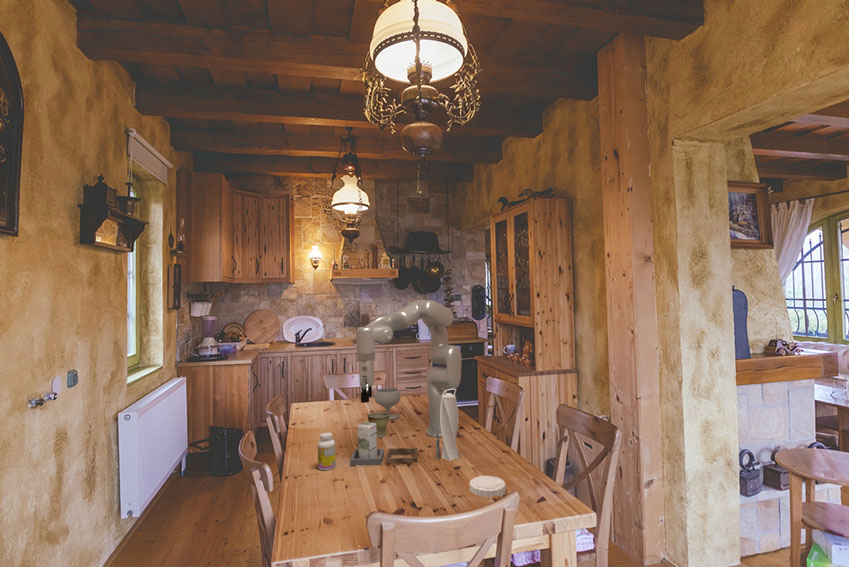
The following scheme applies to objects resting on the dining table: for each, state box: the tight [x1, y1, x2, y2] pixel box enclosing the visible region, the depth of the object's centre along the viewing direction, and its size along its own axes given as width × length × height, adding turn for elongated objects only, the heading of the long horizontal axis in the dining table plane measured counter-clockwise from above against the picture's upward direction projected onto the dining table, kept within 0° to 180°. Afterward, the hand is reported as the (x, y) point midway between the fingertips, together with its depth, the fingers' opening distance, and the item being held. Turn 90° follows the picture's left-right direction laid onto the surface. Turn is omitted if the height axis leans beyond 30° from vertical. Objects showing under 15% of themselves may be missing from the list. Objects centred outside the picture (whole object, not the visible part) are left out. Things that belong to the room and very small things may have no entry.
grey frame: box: [349, 448, 385, 467], centre depth 178 cm, size 12×12×2 cm
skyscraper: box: [435, 388, 460, 461], centre depth 177 cm, size 8×8×28 cm
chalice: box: [374, 387, 401, 421], centre depth 242 cm, size 14×14×15 cm
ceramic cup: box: [367, 411, 390, 439], centre depth 211 cm, size 13×10×10 cm
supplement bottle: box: [317, 432, 336, 471], centre depth 171 cm, size 7×7×13 cm
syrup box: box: [357, 421, 378, 459], centre depth 178 cm, size 6×6×14 cm
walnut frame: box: [385, 447, 418, 466], centre depth 178 cm, size 12×12×2 cm
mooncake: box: [468, 474, 507, 498], centre depth 147 cm, size 12×12×4 cm
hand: (366, 399), depth 179 cm, fingers open, 9 cm apart
